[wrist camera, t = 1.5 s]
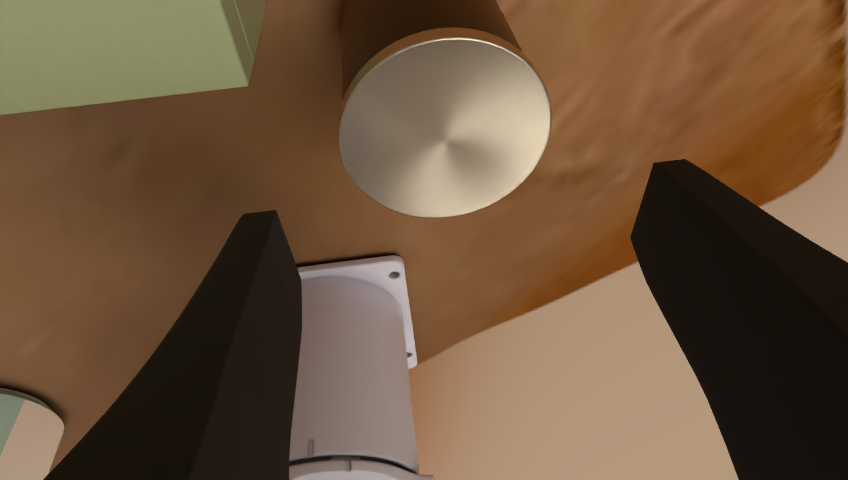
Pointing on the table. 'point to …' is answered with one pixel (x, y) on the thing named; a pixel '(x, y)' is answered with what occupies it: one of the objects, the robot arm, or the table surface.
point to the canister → (437, 105)
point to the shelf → (122, 49)
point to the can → (27, 436)
